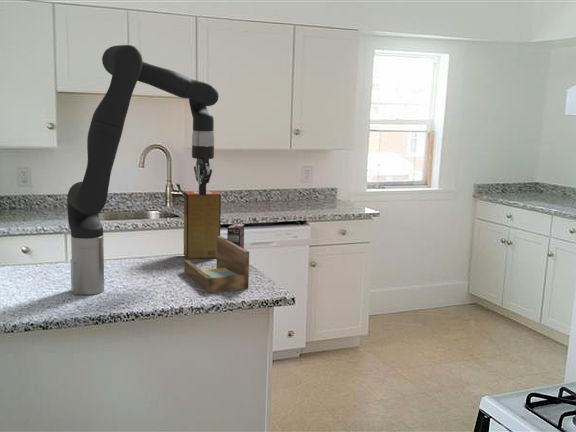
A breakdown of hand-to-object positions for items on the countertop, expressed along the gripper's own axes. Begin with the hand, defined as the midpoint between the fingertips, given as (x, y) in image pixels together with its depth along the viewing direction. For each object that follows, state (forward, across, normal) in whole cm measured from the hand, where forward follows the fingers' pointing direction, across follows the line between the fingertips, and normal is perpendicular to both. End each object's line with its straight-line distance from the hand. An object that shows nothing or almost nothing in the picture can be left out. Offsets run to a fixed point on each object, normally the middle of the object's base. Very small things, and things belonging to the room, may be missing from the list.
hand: (202, 194), depth 202 cm
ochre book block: (+27, +14, 0) cm, 31 cm away
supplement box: (+27, +2, +12) cm, 30 cm away
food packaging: (+27, -21, +7) cm, 35 cm away
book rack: (+27, +13, 0) cm, 30 cm away
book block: (+27, +20, 0) cm, 34 cm away
